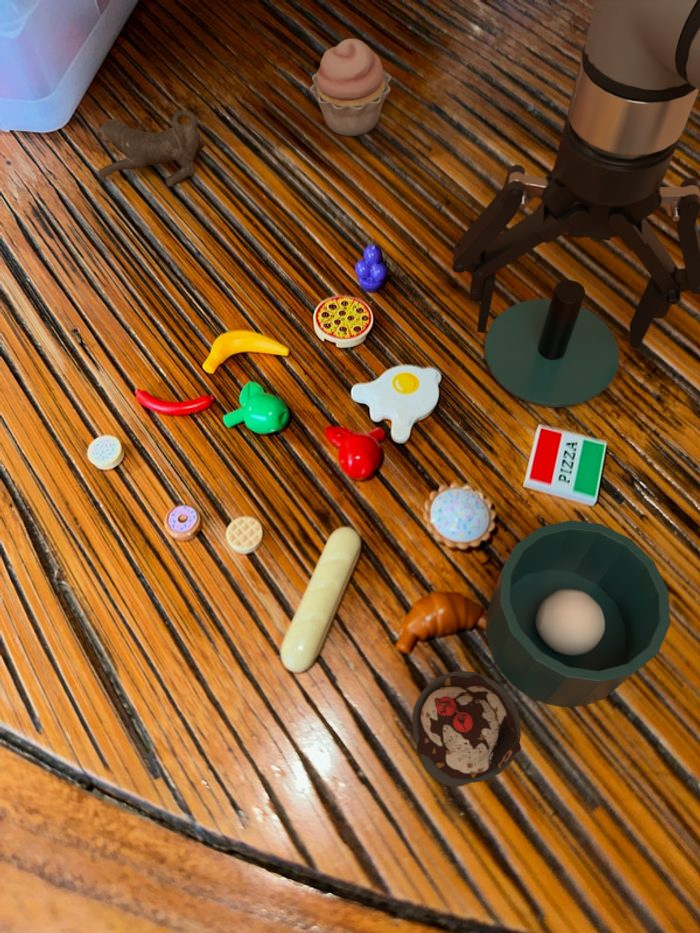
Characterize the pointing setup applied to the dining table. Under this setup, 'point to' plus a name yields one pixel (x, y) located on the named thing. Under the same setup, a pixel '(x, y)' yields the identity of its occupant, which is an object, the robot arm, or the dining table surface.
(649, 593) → the pot
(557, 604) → the beige ball
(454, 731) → the sundae
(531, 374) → the lid
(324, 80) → the cupcake
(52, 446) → the dining table surface
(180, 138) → the dog figurine
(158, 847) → the dining table surface
